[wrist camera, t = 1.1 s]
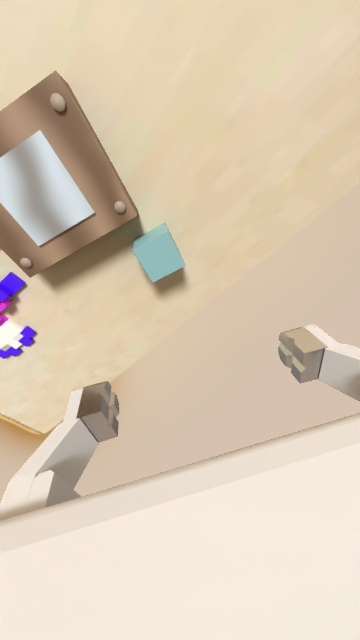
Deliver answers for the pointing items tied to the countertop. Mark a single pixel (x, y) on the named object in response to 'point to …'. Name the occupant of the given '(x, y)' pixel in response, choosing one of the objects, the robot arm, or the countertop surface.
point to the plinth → (54, 179)
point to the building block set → (4, 333)
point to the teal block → (158, 253)
